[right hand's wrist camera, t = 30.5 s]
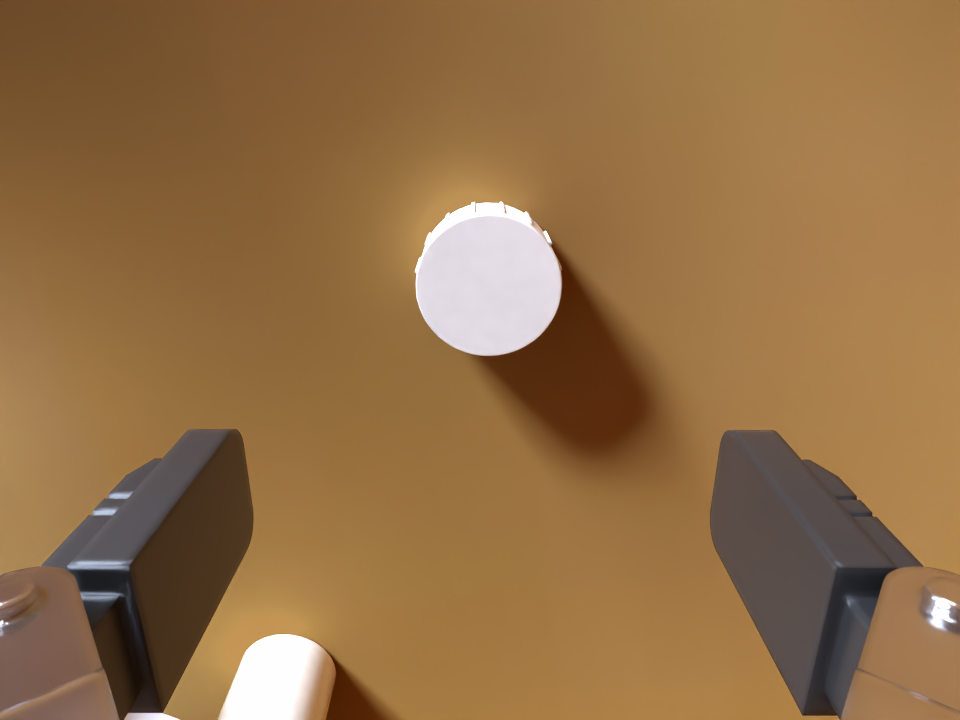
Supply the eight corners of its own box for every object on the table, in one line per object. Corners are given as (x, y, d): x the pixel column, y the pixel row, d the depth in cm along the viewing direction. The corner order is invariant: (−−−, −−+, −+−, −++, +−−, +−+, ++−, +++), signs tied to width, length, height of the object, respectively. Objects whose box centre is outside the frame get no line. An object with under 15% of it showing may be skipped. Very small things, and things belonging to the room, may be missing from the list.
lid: (574, 303, 23) (585, 325, 21) (453, 353, 23) (451, 378, 21) (525, 178, 21) (531, 187, 19) (396, 234, 22) (388, 249, 20)
